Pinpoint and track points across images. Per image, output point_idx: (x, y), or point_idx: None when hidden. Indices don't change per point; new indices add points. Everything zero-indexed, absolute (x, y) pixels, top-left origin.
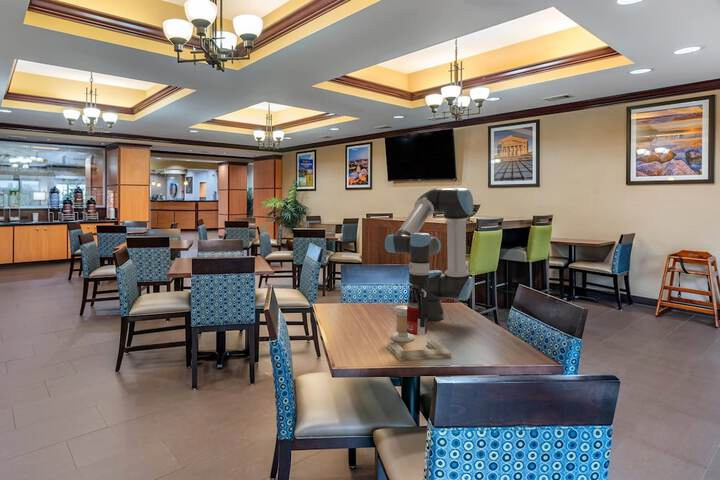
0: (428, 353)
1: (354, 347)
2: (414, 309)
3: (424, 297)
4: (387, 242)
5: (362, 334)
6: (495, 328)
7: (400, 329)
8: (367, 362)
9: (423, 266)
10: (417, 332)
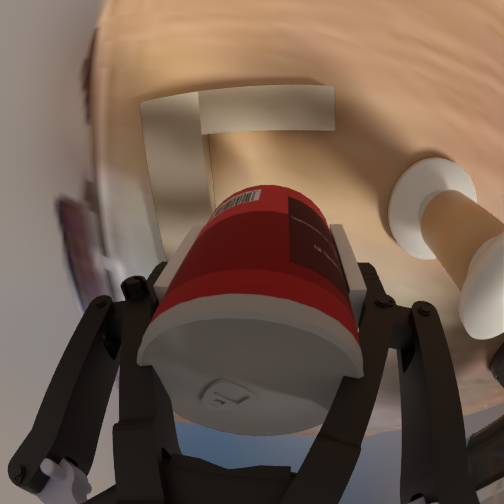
0: (165, 226)
1: None
2: (155, 316)
3: (69, 456)
4: None
5: (498, 71)
6: (380, 430)
7: (440, 205)
8: None
9: None
10: (198, 231)
